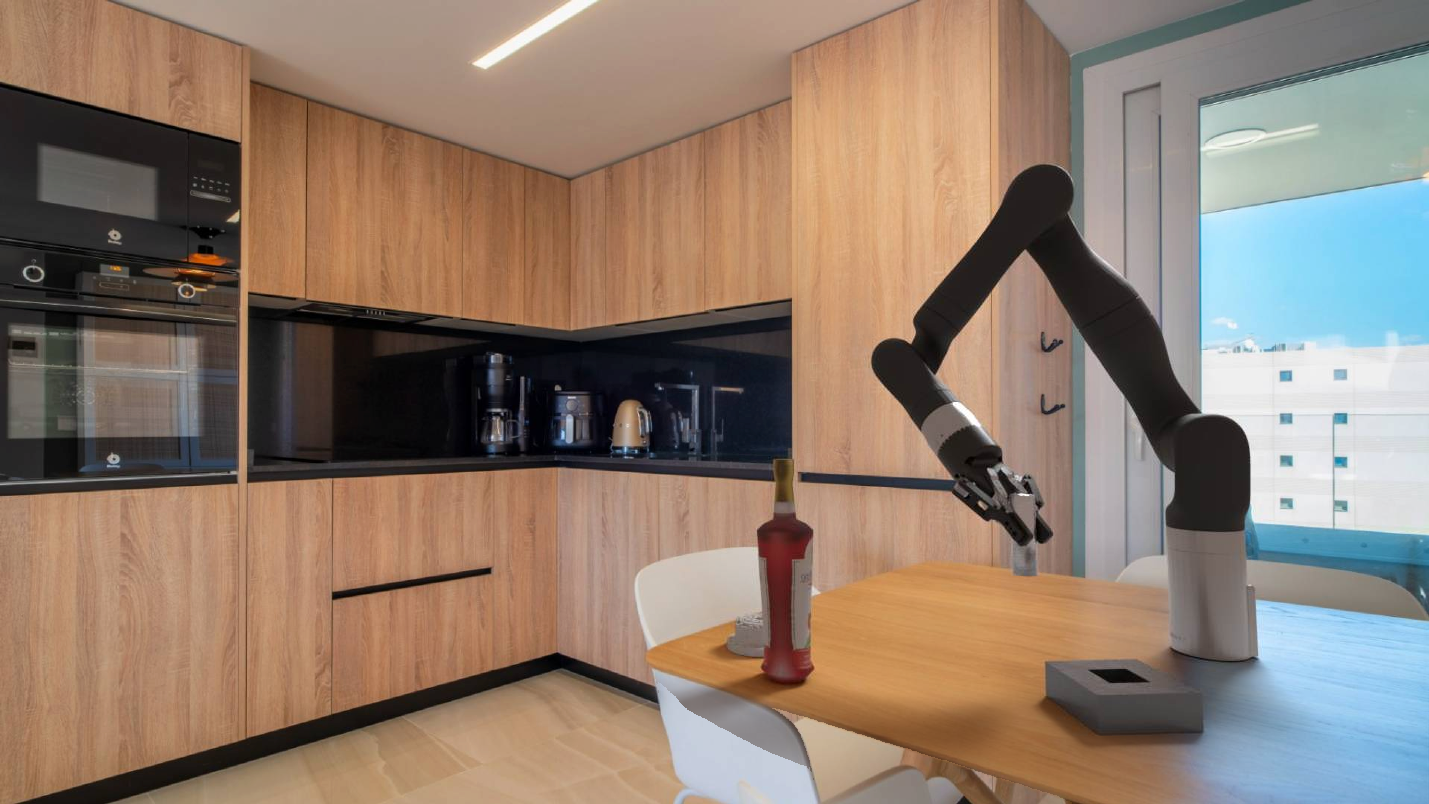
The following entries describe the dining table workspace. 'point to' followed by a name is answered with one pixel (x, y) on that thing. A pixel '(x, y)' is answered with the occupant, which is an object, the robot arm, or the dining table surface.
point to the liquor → (786, 584)
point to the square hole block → (1124, 697)
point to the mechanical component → (747, 636)
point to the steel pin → (1027, 555)
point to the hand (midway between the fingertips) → (1037, 540)
